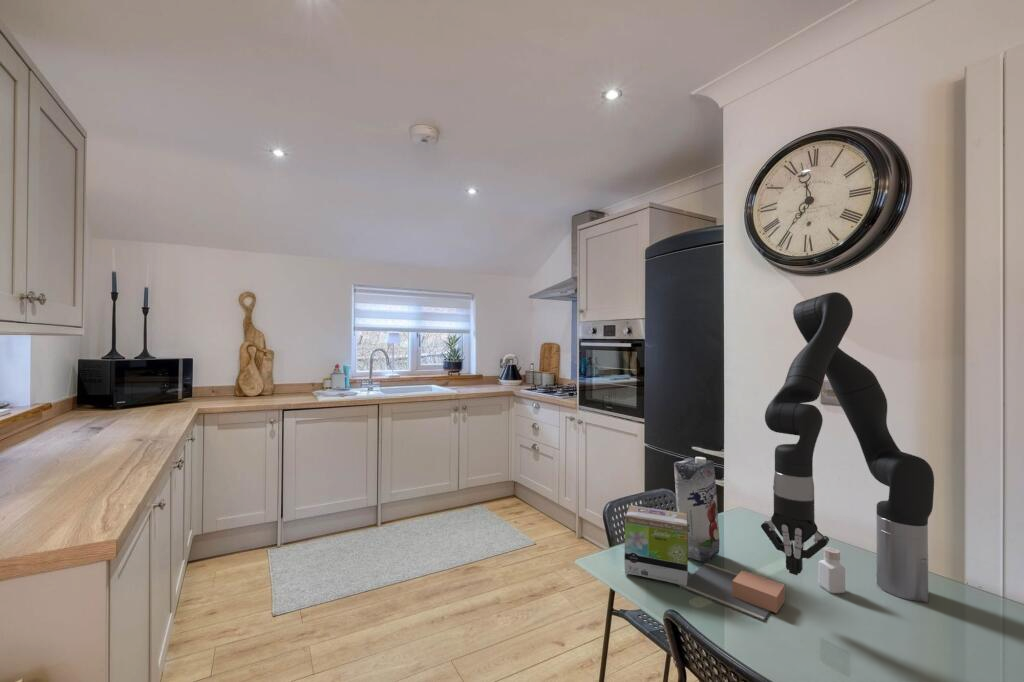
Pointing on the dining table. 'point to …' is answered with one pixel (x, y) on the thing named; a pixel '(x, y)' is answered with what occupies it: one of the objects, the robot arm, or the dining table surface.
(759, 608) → the tray
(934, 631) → the dining table surface
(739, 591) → the brick
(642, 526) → the tea box
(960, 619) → the dining table surface
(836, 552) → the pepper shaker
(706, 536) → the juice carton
